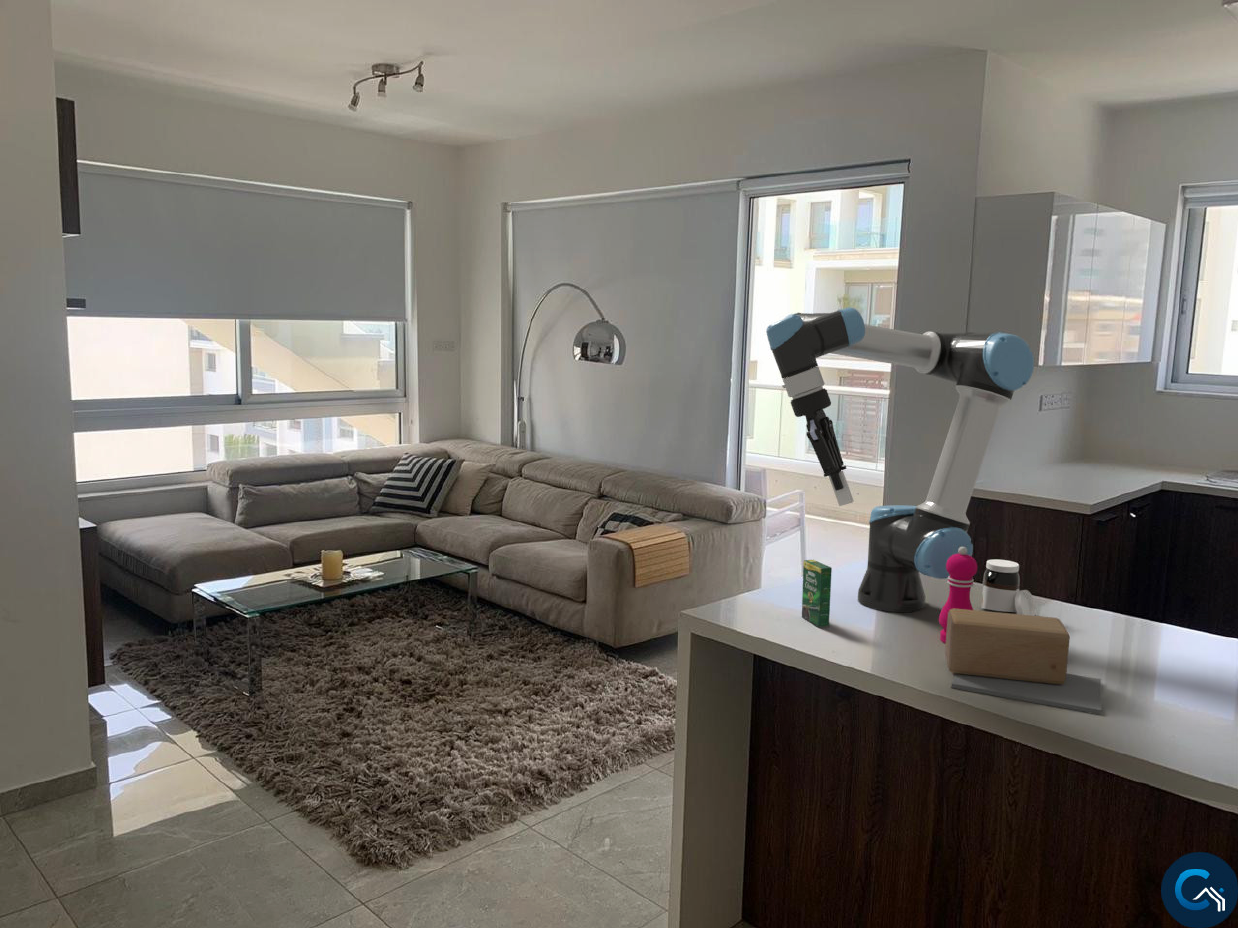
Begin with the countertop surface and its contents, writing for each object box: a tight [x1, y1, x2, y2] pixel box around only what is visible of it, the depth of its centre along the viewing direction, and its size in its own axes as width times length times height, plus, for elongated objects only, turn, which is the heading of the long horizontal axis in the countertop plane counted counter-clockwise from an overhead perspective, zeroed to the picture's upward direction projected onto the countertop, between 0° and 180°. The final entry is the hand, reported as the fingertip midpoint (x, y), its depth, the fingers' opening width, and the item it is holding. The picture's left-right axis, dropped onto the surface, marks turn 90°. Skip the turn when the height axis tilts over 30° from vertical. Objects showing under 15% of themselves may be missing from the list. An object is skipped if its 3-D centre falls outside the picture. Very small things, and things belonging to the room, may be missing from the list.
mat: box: [950, 672, 1103, 715], centre depth 170 cm, size 16×24×1 cm, turn 64°
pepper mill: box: [938, 547, 978, 644], centre depth 192 cm, size 7×7×20 cm
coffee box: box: [801, 559, 833, 628], centre depth 203 cm, size 8×3×13 cm, turn 17°
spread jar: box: [980, 559, 1036, 616], centre depth 211 cm, size 12×11×12 cm
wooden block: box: [944, 608, 1071, 685], centre depth 174 cm, size 10×10×20 cm
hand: (846, 503), depth 189 cm, fingers closed
